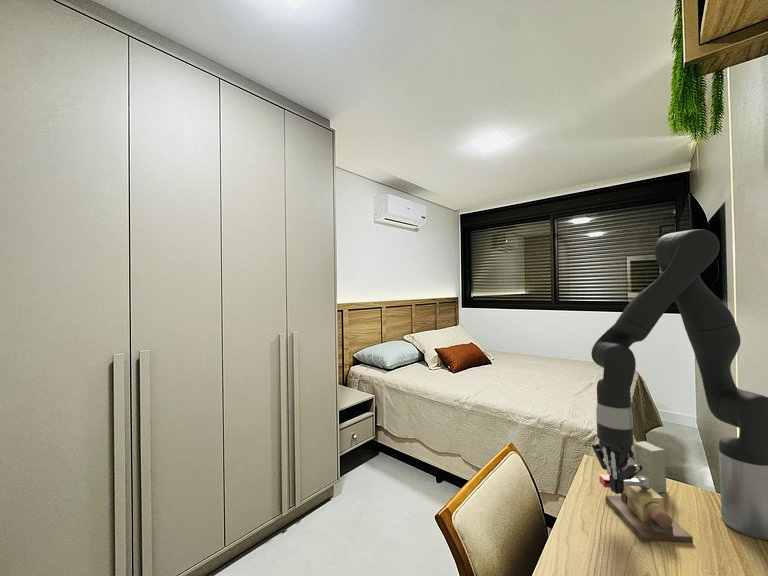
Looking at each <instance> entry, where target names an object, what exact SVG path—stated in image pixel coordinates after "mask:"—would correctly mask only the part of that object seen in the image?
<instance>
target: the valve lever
mask: <svg viewBox="0 0 768 576" xmlns="http://www.w3.org/2000/svg"><path fill="white" fill-rule="evenodd" d="M598 477H599V483H600V484H601V485H602V487H604V488H606V489H607V488H609V489H611V488H610V484H609V483H610V482H609V475H608V474H599V476H598ZM637 478H638V479H636V477H635V478H634V477H633V478H632V479H630V480H624V486H639V487H640V488H642V489H646V490H649V489H651V484H650V479H649V478H647V477H644V476H638V477H637Z"/></svg>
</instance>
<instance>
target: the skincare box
mask: <svg viewBox="0 0 768 576" xmlns="http://www.w3.org/2000/svg"><path fill="white" fill-rule="evenodd" d="M633 458H634V461H635V463H636V464H637V465H638V464H640V465H641V466H642V468H643V469H642V470H641V471H640V472H639V473H638V474H637V475H636V476H635V479H638V478H637V477H638V476H644V477H647V478H649V479H650V484H651V488H652V489H653V490H654V491H655V492H656V493H657V494H659V493H666V492H667V491H668V489H667V479H666V463H665V461H666V460H665V449H664V448H662V447H659V446H657V445H655V444H652V443H650V442H648V441H646V440H643V441H636V442H635V441H634V443H633Z"/></svg>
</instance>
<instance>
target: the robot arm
mask: <svg viewBox="0 0 768 576" xmlns="http://www.w3.org/2000/svg"><path fill="white" fill-rule="evenodd" d="M720 246H721V244H720V240H719V238H718V236H717V235H716V234H715V233H714V232H712V231H710V230H707V229H700V228H699V229H689V230H681V231H676V232H671V233H666V234H664V235H662V236H661V237H659V238H658V239H657V241H656V242H655V246H654V257H655V260H656V263H657V264H658V267H659V269H660V270H661V272H662V274H660V275H659V277H657V278H656V280H654V281H653V282H652V283H651V284H650V285H648V286H647V287H646V288H644V289H643V290H641V291H640V292H639V293H638V294H637V295H636V296H635V297H634V298H633V299H632V300H631V301H630V302H629V303H628V304H627V305H626V307H625V308H624V309H623V311H622V312H621V314H620V315H619V317H618V318H617V320H616V322H615V323H614V324H613V325H612V326H611V327H609V328H608V329H607V330H606V331H605V332H604V333H603V334H602V335H601V336H600V337H599V338H598V339H597V340H596V341H595V343H594V344H593V346H592V348H591V359H592V361H593V362H594V363H595V364H596V365H597V366H599V367H601V368H603V373H602V378H601V379H599V380H598V381H597V385H596V401H597V404H596V409H595V411H596V412H595V413H596V415H595V416H596V437H597V438H598V440H599V441H598V443H594V444H592V445H591V447H592V449H593V452H594V454H595V456H596V459H597V460H598V462H599V464H600V466H601V468H602V469H603V470H605V471H606V473H607V475H609V482H610V483H609V484H610V488H609V489H610V491H611V492H613V493H614V494H616V495H621V493H623V492H624V480H630V479H632V478H634V477H636V475H637V474H638V473H639V472H640V471H641V470H642V469H643V468H642V466H641V465H640V464H638V465H637V464H636V463H635V459H633V458H634V453H633V451H632V447H633V446H634V442H635V441H634V417H633V411H632V410H633V409H632V397H631V396H632V395H631V388H632V385H633V382H634V377H635V373H636V367H637V365H636V364H637V363H636V358H635V355H634V352H633V351H632V350H631V348H630V347H631V346H632V345H633V344H635V343H638V342H643V341H644V340H645V339H646V338H647V337H648V336H649V334H650V333H651V331H652V330H653V329H654V327H655V326H656V325H657V323H658V322H659V320H660V319H661V318H662V317H663V315H664V313H665V312H666V311H667V309H669V307H670V306H671V304H672V303H674V302H675V303H676V306H677V309H678V311H679V314H680V316H681V319H682V323H683V327H684V329H685V331H686V334H687V338H688V340H689V343H690V345H691V347H692V351H693V353H694V355H695V356H694V357H695V360H696V362H697V363H696V364H697V366H698V369H699V373H700V376H701V380H702V386H703V390H704V394H705V399H706V404H707V406H708V409H709V411H710V413H711V415H713V417H714V418H715V419H717V420H719V421H721V422H723V423H725V424H728V425H730V426H734V427H736V428H739V436H737V437H734V436H732V437H731V436H729V437H728V436H727V437H723V438H720V439H719V442H718V453H719V454H718V457H719V482H720V483H719V485H720V512H721V513H720V514H721V518H720V519H722V522H724V524H726V525H727V526H728V527H730V528H731V529H733V530H734V531H737V532H738V533H742V535H743V534H744V535H746V536H748V537H751V538H755V539H760V540H767V541H768V396H766V395H763V394H759V393H756V392H751V391H747V390H744V389H740V388H738V387H737V385H736V383H735V380H734V378H733V374H732V370H731V365H732V363H733V361H734V359H735V357H736V355H737V354H738V351H739V348H740V346H741V335H740V332H739V329H738V325H737V322H736V321H735V318H734V315H733V313H732V312H731V310H730V309H729V308H728V307H727V306H726V305H725V304H724V302H723V301H722V300H721V299H720V298H719V297H718V296H716V295H715V293H714V292H712V290H710V288H709V287H708V286H707V285H706V283H705V282H704V281H703V279H702V278H701V274H702V273H703V272H704V271H705V270H706V269H707V268H708V267H709V266H710V265H711V264H712V263H713V262H714V261H715V259H716V258H717V256H718V254H719V253H720V249H721V248H720Z"/></svg>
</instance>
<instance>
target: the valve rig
mask: <svg viewBox="0 0 768 576" xmlns="http://www.w3.org/2000/svg"><path fill="white" fill-rule="evenodd" d="M605 502H606V503H607V504H608V506H610V507H611V509H613V511H614V512H615V513H616V514H617V515H618V516H619V517H620V518H621V519H622V521H623V522H624V523H625V524H626V526H628V527H629V528H630V529H631V530H632V532H633V533H634V534H635V535H636V536H637V537H638V539H639V540H640V541H641V542H653V543H654V542H656V543H674V544H675V543H677V544H678V543H679V544H693V542H694V538H693V536H692V535H691V534H690V533H689V532H688V531H687V530H686V529H685V528H683V527H682V526H681V525H680V524H679V523H678V522H676V520H675V519H673V518H672V517H671V516H670V515H669V514H668V513H667V511H666V509H665V508H664V497H663V496H661V495H660V494H659V493H656V492H655V491H654V490H653V489H652V488H651V489H649V490H646V489H642V488H640V487H639V486H624V492H623V493H620V495H610V494H609V495H605Z"/></svg>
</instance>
